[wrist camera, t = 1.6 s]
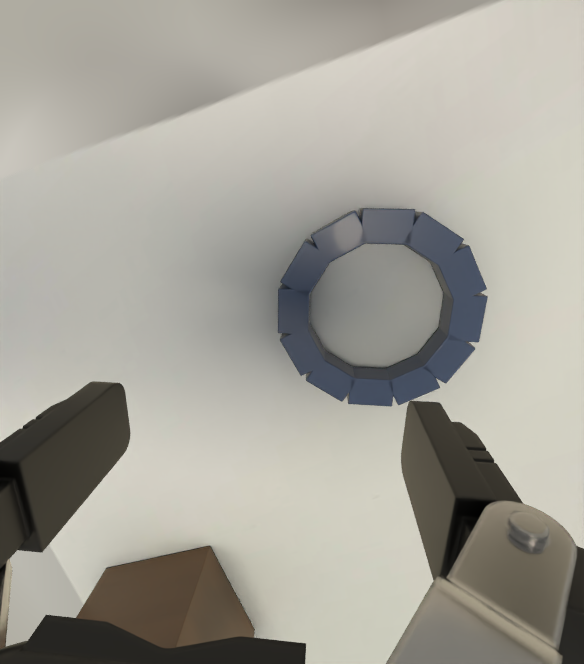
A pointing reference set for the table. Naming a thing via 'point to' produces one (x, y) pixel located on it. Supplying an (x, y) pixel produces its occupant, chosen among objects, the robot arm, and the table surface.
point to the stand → (170, 600)
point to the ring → (441, 349)
